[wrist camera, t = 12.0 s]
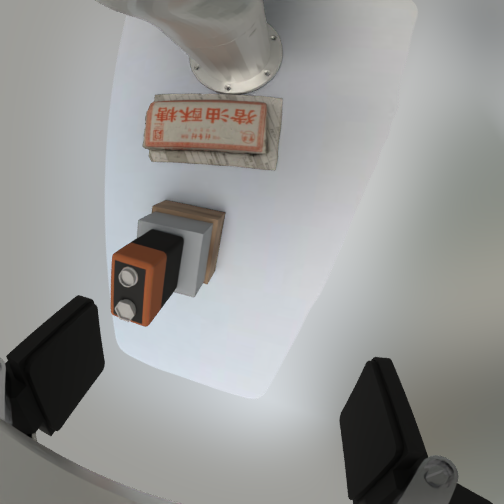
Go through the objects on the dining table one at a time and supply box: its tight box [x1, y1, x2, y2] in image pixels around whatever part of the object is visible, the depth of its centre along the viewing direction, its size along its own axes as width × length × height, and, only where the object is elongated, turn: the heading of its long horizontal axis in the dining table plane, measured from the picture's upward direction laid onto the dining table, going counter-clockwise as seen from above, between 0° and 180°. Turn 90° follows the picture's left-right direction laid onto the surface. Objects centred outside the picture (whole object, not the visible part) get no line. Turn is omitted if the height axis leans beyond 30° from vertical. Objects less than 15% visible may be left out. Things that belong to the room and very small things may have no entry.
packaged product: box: [143, 94, 282, 170], centre depth 36 cm, size 18×5×10 cm
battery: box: [111, 229, 184, 327], centre depth 30 cm, size 4×7×10 cm, turn 167°
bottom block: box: [152, 200, 225, 284], centre depth 41 cm, size 9×9×5 cm
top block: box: [137, 212, 213, 297], centre depth 37 cm, size 8×8×5 cm
